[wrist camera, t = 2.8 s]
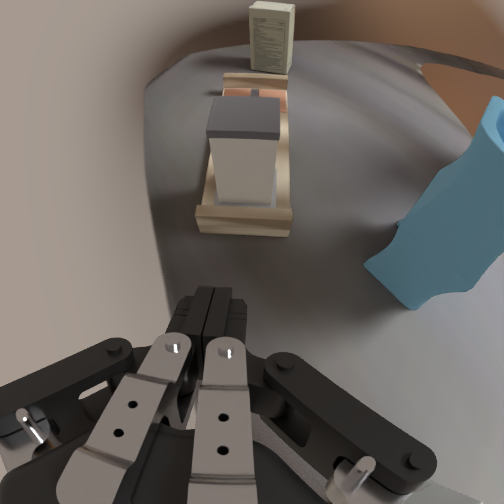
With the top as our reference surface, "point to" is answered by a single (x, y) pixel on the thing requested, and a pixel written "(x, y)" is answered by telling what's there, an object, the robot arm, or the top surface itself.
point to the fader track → (281, 216)
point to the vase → (451, 223)
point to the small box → (438, 495)
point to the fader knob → (244, 149)
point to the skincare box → (271, 36)
